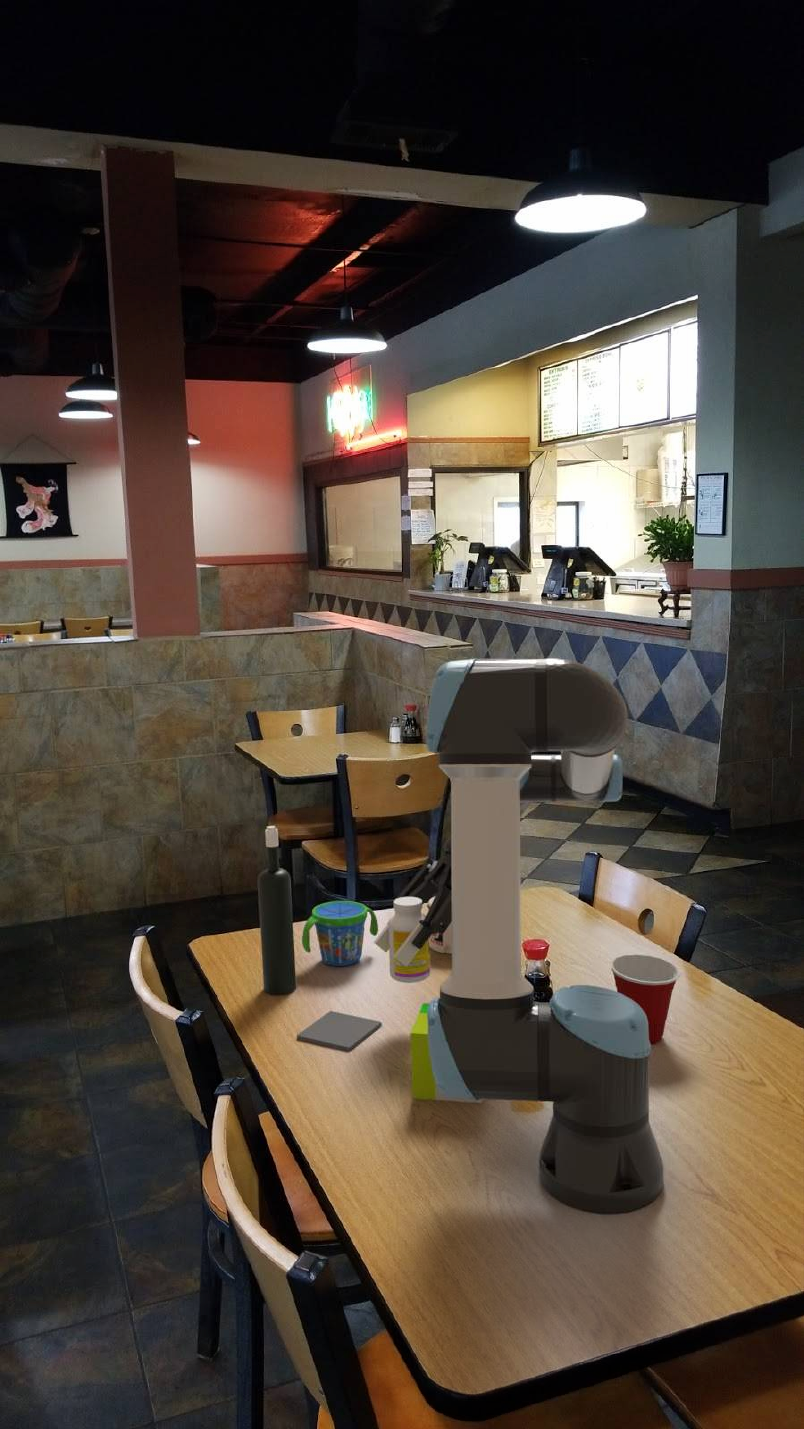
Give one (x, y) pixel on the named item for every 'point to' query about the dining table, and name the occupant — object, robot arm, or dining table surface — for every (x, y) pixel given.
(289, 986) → the wine bottle
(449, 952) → the teacup with lid
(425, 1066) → the puzzle toy
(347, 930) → the snack cup
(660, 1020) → the plastic cup
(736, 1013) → the dining table surface
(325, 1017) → the coaster
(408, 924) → the supplement bottle
